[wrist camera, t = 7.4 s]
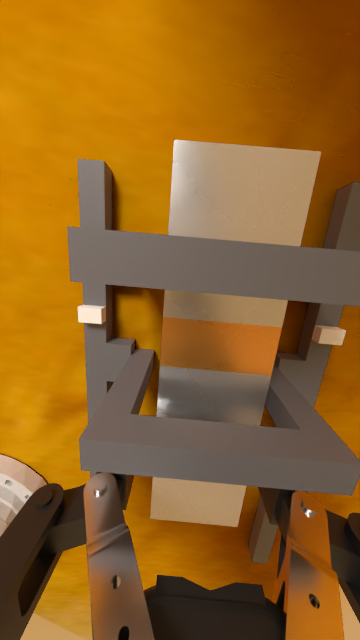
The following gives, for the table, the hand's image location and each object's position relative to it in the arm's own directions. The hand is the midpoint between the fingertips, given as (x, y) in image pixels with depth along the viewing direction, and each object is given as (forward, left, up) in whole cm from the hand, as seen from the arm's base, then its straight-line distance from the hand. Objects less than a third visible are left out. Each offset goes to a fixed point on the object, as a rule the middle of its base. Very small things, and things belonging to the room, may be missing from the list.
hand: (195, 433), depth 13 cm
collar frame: (-1, 0, -1) cm, 2 cm away
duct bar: (-5, 0, -1) cm, 6 cm away
